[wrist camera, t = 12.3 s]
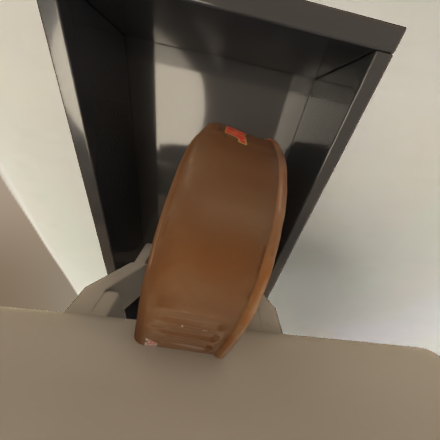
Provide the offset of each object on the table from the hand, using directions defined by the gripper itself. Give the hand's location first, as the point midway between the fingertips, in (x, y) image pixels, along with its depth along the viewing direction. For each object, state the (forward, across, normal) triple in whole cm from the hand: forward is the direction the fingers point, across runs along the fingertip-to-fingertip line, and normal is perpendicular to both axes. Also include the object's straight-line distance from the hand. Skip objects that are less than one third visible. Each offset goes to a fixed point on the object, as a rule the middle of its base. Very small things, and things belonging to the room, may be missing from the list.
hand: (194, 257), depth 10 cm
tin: (+3, 0, 0) cm, 3 cm away
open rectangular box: (+4, 0, 0) cm, 4 cm away
